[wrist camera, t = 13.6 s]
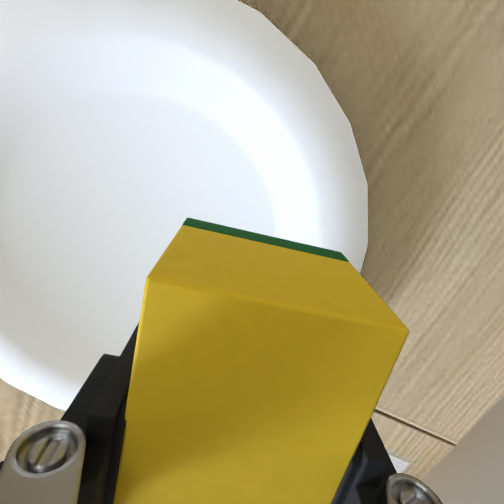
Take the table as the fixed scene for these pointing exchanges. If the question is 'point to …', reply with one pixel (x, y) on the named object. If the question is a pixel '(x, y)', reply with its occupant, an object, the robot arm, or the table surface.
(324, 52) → the table surface
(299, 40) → the table surface
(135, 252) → the plate
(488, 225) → the table surface
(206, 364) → the sponge
